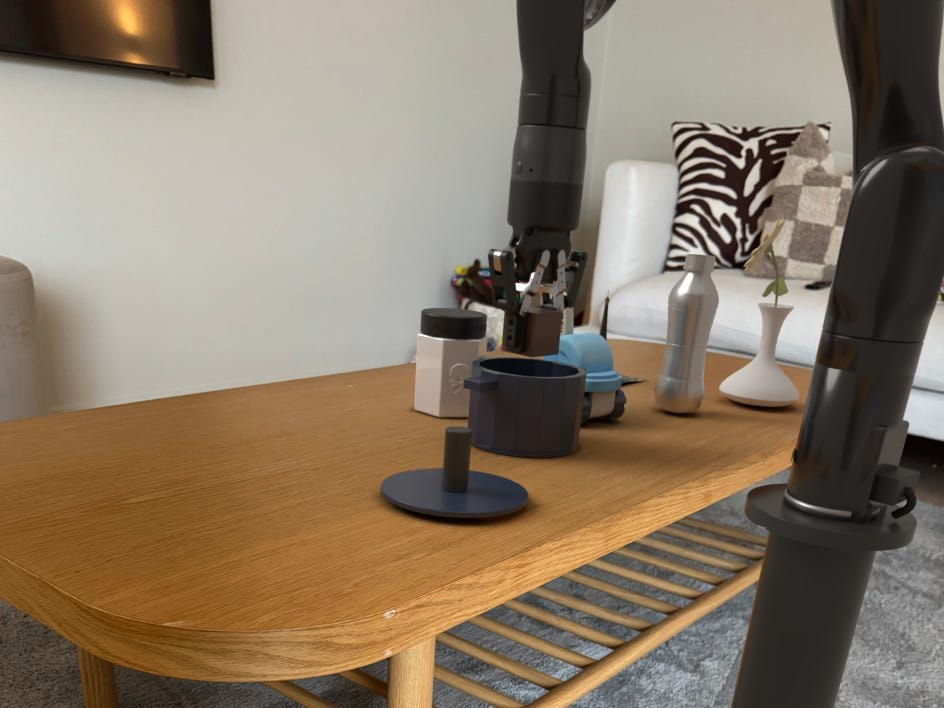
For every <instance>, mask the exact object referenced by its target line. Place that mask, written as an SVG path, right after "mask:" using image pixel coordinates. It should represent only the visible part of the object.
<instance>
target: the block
mask: <svg viewBox="0 0 944 708" xmlns="http://www.w3.org/2000/svg"><path fill="white" fill-rule="evenodd" d="M562 316H563V312H561V311H555V310H549V309H544V308H541V307H539V306H535V307H533V306H530V307H529V310H528V314H527V315H526V316H525V317H528V321H527V331H526V342H525V350H524V352H522V353H515V352H510V351H507V349H506V346H505V332H506V331H505V330H506V318H507V317H506V313H505V312H504V311H503V323H502V324H503V325H502V336H501V346H500V347H501V348H500V349H501V351H502V352H506V353H511V354H514V355H515V354H516V355H519V356H522V357H527V358H540V357H544V356H549V355H558V352H559V343H560V334H561V325H562Z"/></svg>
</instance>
